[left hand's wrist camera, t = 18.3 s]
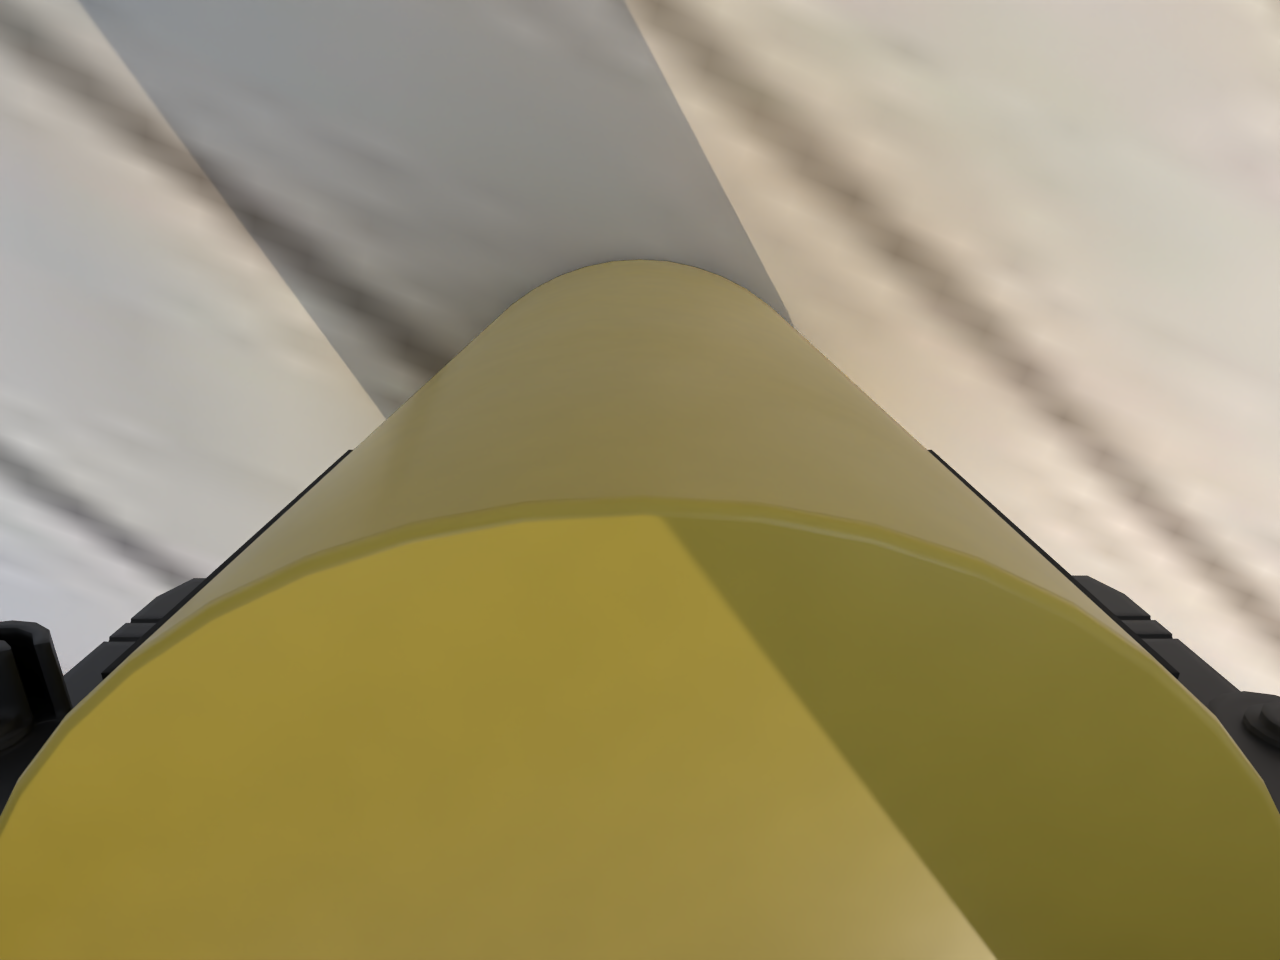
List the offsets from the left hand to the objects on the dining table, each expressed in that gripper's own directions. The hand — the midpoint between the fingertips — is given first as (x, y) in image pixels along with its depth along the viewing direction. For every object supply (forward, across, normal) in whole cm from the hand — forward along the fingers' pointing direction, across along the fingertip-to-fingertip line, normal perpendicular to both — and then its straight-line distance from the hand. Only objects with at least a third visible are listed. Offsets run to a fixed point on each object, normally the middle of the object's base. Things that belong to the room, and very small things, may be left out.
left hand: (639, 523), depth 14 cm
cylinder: (+3, 0, 0) cm, 3 cm away
